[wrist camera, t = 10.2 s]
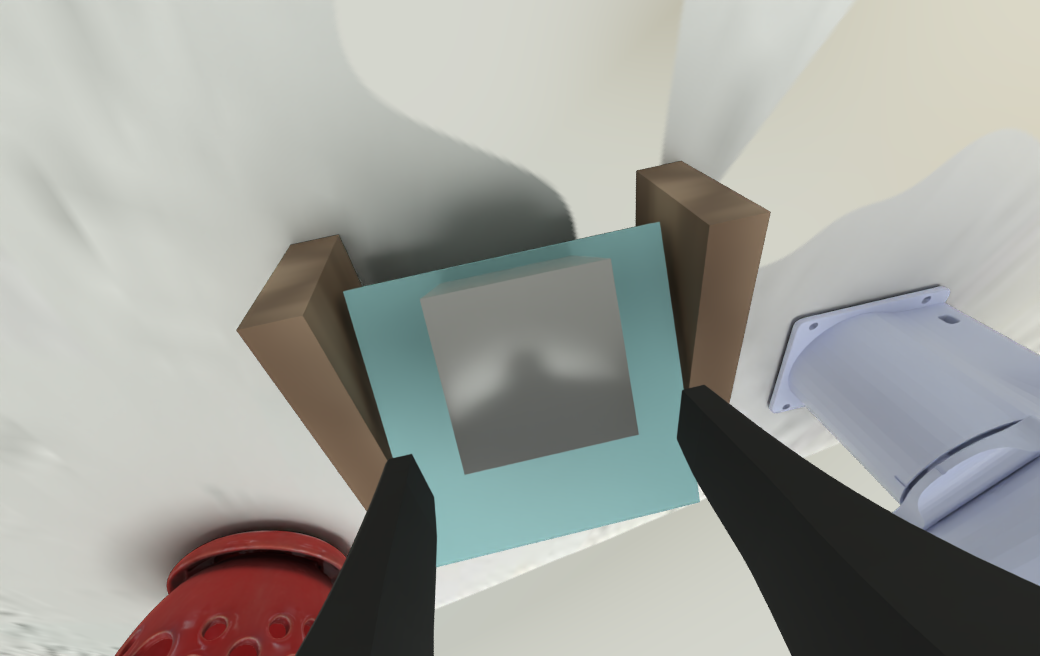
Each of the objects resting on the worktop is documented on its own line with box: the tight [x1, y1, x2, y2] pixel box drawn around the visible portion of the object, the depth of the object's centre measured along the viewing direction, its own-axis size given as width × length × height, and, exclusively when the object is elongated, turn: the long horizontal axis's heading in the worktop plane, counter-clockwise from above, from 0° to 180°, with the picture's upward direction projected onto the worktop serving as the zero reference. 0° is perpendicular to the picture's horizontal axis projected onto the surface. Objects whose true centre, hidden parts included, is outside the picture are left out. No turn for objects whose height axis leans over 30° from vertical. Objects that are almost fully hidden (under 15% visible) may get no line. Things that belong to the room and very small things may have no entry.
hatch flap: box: [343, 222, 700, 567], centre depth 18 cm, size 12×12×3 cm
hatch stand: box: [236, 161, 771, 511], centre depth 20 cm, size 17×15×6 cm
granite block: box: [420, 255, 639, 475], centre depth 14 cm, size 5×5×5 cm
